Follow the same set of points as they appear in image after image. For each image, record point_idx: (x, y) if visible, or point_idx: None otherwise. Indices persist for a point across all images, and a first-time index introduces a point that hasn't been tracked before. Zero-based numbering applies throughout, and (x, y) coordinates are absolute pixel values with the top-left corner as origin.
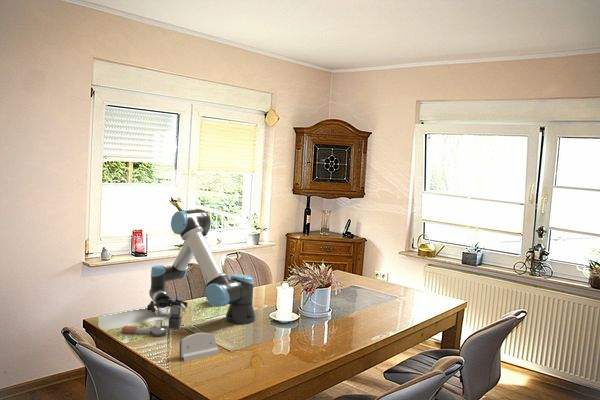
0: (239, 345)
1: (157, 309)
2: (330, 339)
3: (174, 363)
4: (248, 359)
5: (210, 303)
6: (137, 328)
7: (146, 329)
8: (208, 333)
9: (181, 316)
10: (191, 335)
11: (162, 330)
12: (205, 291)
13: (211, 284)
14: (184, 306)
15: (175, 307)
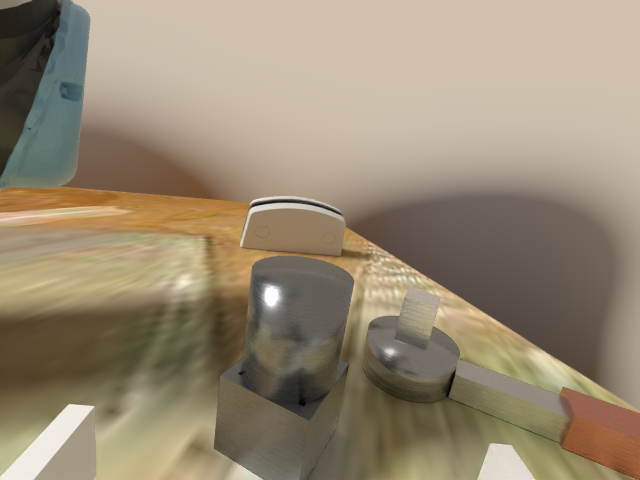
0: (157, 238)
1: (506, 457)
2: None
3: (355, 248)
4: (203, 219)
5: (74, 171)
6: (558, 407)
7: (485, 375)
8: (268, 197)
9: (220, 375)
10: (318, 201)
11: (388, 318)
12: (83, 76)
13: (83, 8)
14: (46, 440)
15: (309, 265)
